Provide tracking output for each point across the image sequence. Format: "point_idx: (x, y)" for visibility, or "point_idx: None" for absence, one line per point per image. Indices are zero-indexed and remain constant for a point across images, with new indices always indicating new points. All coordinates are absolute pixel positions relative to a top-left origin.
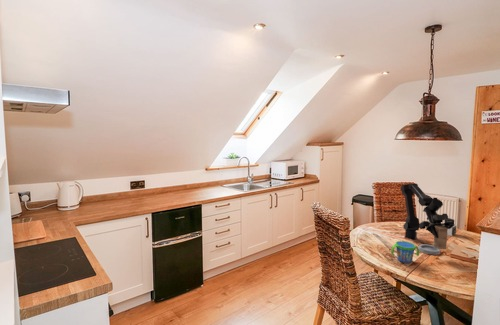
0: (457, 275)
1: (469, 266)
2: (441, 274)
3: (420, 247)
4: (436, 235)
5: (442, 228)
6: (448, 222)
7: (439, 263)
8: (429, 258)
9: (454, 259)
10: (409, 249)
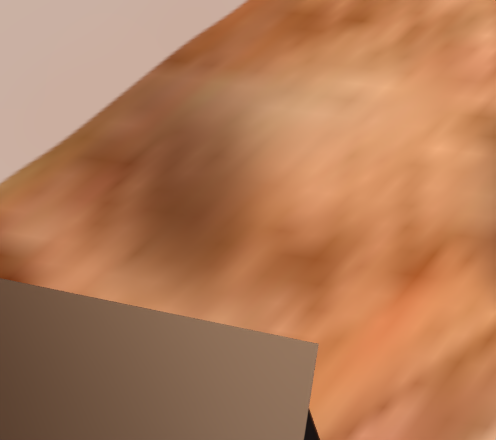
0: (349, 29)
1: (84, 150)
2: (480, 60)
3: None
4: (314, 432)
5: (113, 307)
6: None
7: (328, 254)
8: (347, 391)
9: None
10: None
